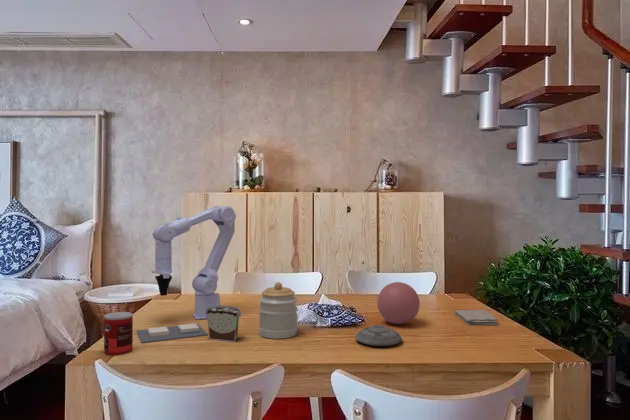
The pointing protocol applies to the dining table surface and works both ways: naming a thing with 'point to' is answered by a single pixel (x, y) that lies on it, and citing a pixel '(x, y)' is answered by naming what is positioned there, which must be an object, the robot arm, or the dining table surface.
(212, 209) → the robot arm
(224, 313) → the food container
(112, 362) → the dining table surface
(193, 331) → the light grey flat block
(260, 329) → the jar
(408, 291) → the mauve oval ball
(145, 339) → the mat
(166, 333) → the tile sage
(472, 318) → the washcloth
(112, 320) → the canned food
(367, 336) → the flying saucer
